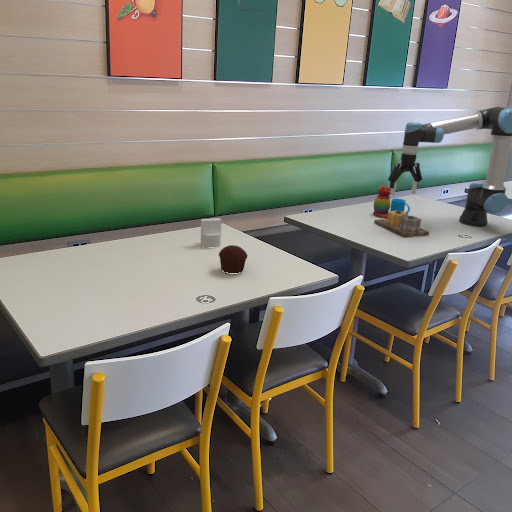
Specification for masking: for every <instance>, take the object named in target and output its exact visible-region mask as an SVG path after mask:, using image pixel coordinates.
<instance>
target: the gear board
mask: <svg viewBox="0 0 512 512" xmlns="http://www.w3.org/2000/svg"><path fill="white" fill-rule="evenodd" d="M396 214H401V211H396ZM387 219H388V218H387ZM387 219H384V218H380V219H374V221H373V224H374V223H375V224H374V225H376V226H379V227H381V228H383V229H384V230H387V231H389V230H390V231H389V232H391V231H392V232H391V233H393V232H394V233H393V234H395V233H396V234H395V235H397V234H398V235H397V236H399V235H400V236H399V237H401V236H402V238H403V237H405V238H413V236H417V237H426V236H425V235H428V236H430V231H429V230H426V229H424V228H422V227H421V224H422V218H421V217H420V218H419V217H418V216H413V215H408V216H402V218H401V222H400V226H396V225H390V224H388V223H387Z"/></svg>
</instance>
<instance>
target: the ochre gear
mask: <svg viewBox="0 0 512 512" xmlns="http://www.w3.org/2000/svg"><path fill="white" fill-rule="evenodd" d="M402 216H409V212H408V213H406V212H405V211H404V212H403V211H402V212H401V214H396V211H390V210H389V211H388V218H387V223H388V224H390V225H396V226H400V222H401V218H402Z"/></svg>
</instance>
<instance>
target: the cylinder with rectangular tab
mask: <svg viewBox="0 0 512 512" xmlns="http://www.w3.org/2000/svg"><path fill="white" fill-rule="evenodd" d="M221 237H222V218H220V217H216V218H215V217H214V218H201V219H200V246H201V245H202V246H204V247H203V248H205V247H217V246H220V247H221V243H222V242H221V240H222V239H221ZM202 246H201V247H202ZM217 248H218V247H217Z"/></svg>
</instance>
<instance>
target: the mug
mask: <svg viewBox="0 0 512 512" xmlns="http://www.w3.org/2000/svg"><path fill="white" fill-rule="evenodd" d="M406 206H407V211H406V212H405V207H406ZM410 210H411V208H410V205H409V204H408V203H407V202H406V200H405V199H403V198H391V200H390V209H389V211H401V212H402V211H403V212H404V213H408V214H409V213H410Z"/></svg>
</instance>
